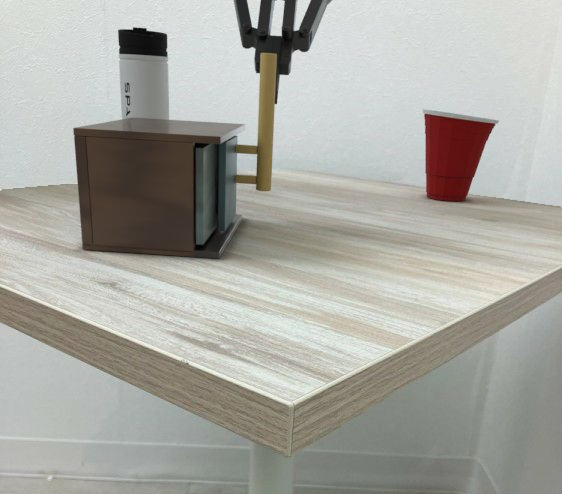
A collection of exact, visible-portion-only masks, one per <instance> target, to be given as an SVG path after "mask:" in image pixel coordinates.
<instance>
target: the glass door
mask: <svg viewBox="0 0 562 494" xmlns="http://www.w3.org/2000/svg"><path fill="white" fill-rule="evenodd" d="M276 63H277V54H273V53H261V55H260V73H259V87H258V88H259V89H258V93H259V94H258V113H257V114H258V115H257V116H258V119H257V145H254V144H238V135H235V136H234V137H232V138H230V139H228V140H227V141H225V142H223V143H221V144H219V172H218V231H225V230H226V229H227V227H228V226H229V224H230V223H231V221H232V220H233V218H234V217H235V215H236V214H237V184H243V185H245V184H246V185H255V190H256V191H257V192H271V191H272V179H273V178H272V176H273V175H272V173H273V156H274V155H273V153H274V131H275V129H274V128H275V106H276V104H275V86H276ZM238 154H245V155H256V175H252V174H238Z"/></svg>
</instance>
